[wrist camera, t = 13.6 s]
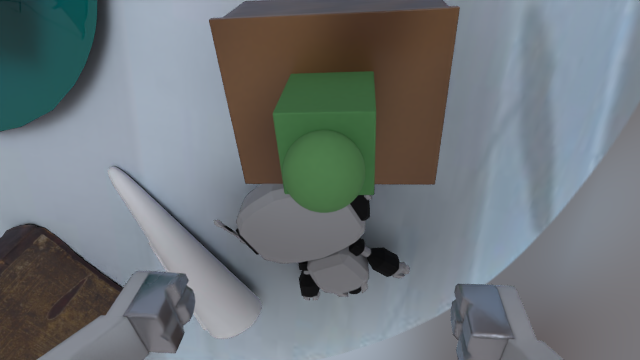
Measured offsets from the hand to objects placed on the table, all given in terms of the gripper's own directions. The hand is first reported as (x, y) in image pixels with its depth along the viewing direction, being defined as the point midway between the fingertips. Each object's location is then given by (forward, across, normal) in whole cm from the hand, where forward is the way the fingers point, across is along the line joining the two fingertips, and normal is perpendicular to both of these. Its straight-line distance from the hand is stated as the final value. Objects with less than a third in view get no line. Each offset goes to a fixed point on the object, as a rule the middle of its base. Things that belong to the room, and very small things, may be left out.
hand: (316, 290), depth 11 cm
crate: (+18, 0, 0) cm, 18 cm away
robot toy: (+18, +2, +14) cm, 23 cm away
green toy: (+12, 0, 0) cm, 12 cm away
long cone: (+18, +16, +16) cm, 29 cm away
